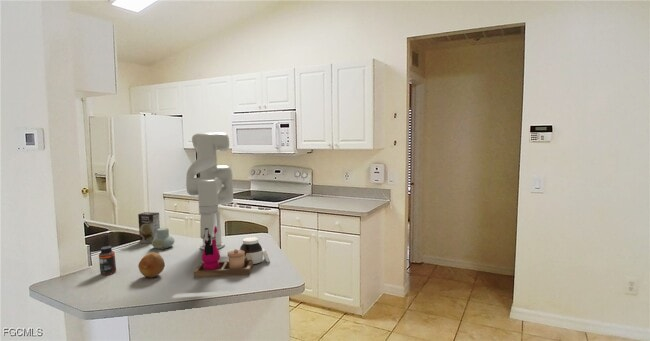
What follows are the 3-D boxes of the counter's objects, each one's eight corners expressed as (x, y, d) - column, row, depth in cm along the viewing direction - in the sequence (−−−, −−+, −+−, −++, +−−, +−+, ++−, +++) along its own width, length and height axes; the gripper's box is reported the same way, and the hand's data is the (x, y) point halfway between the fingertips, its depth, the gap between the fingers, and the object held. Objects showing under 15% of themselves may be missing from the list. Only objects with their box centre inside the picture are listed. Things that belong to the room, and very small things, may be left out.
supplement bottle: (113, 269, 166) (112, 244, 165) (118, 272, 161) (116, 247, 160) (98, 273, 161) (96, 247, 160) (102, 276, 157) (100, 250, 156)
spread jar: (237, 264, 168) (236, 239, 167) (258, 258, 176) (257, 234, 175) (254, 270, 160) (252, 243, 159) (274, 263, 168) (273, 238, 167)
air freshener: (149, 249, 195) (148, 230, 194) (159, 244, 203) (158, 226, 202) (167, 250, 193) (166, 231, 192) (177, 245, 201) (176, 227, 200)
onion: (139, 274, 159) (138, 251, 158) (165, 270, 162) (163, 248, 162) (138, 282, 150) (136, 258, 149) (165, 278, 154) (163, 254, 153)
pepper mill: (215, 271, 151) (212, 222, 150) (199, 270, 153) (196, 222, 151) (223, 265, 158) (221, 218, 157) (207, 264, 160) (205, 218, 158)
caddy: (201, 270, 161) (200, 262, 161) (252, 268, 163) (252, 260, 162) (194, 280, 150) (193, 271, 150) (249, 277, 152) (249, 268, 151)
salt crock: (229, 268, 160) (228, 247, 159) (246, 267, 160) (245, 246, 160) (227, 274, 153) (225, 252, 152) (244, 273, 153) (243, 251, 153)
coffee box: (139, 242, 208) (137, 214, 207) (146, 239, 215) (144, 211, 213) (154, 243, 207) (152, 214, 205) (161, 239, 213) (159, 212, 212)
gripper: (204, 206, 162) (206, 247, 163) (193, 214, 145) (196, 259, 146) (221, 205, 162) (223, 246, 164) (213, 213, 145) (215, 258, 147)
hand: (210, 252), depth 155 cm, fingers closed on pepper mill, 5 cm apart
